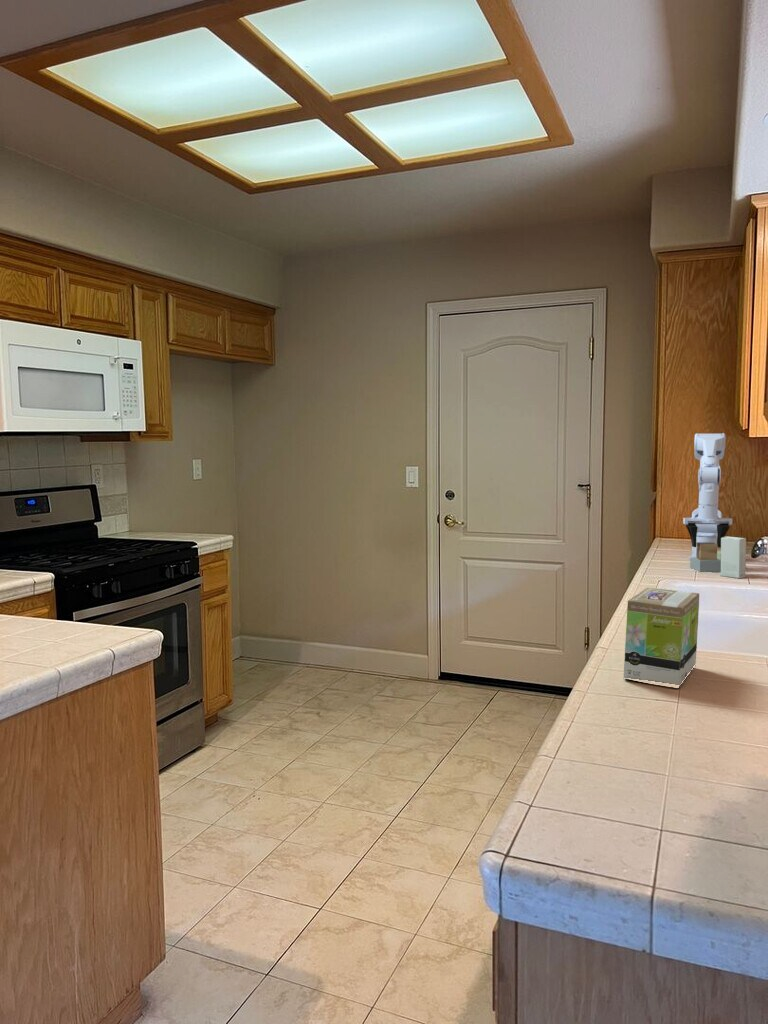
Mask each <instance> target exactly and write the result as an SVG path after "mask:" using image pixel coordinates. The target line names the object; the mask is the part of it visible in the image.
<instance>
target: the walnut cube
mask: <svg viewBox="0 0 768 1024" xmlns="http://www.w3.org/2000/svg"><path fill="white" fill-rule="evenodd" d="M717 552H718V547H717V544H715V543H711V542H697V549H696V558H698V559H700V560H717Z"/></svg>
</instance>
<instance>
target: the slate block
mask: <svg viewBox="0 0 768 1024" xmlns="http://www.w3.org/2000/svg"><path fill="white" fill-rule="evenodd" d="M689 557H690V558H689V560H690V561H689V563H690V564H689V569H690V568H691V569H690V570H692V569H694V570H693V571H695V570H697V571H699V572H698V573H700V572H712V573H721V560H719V559H717V560H700V559H698V558H696V557H692V556H689ZM697 571H696V572H697Z"/></svg>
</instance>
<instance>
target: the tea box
mask: <svg viewBox="0 0 768 1024" xmlns="http://www.w3.org/2000/svg"><path fill="white" fill-rule="evenodd" d="M626 610H627V611H626V612H627V613H626V627H625V645H624V663H623V664H624V665H623V679H624V678H631V679H639V680H648V681H655V682H662V683H669V684H675V685H680V684H681V683H682V681H683V680H684V679H685V677H686V676H687V674H688V673H689V672H690V671H691V669H692V668H693V666H694V665H695V664H697V649H698V647H697V646H698V628H699V611H700V593H698V592H691V591H682V590H672V589H663V588H657V587H656V588H655V587H646V588H645V589H643V590H641V591H640V592H638V593H637V594H636V595H634V596H633V597H631V598H629V599H628V600H627V608H626ZM695 666H696V665H695Z"/></svg>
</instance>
